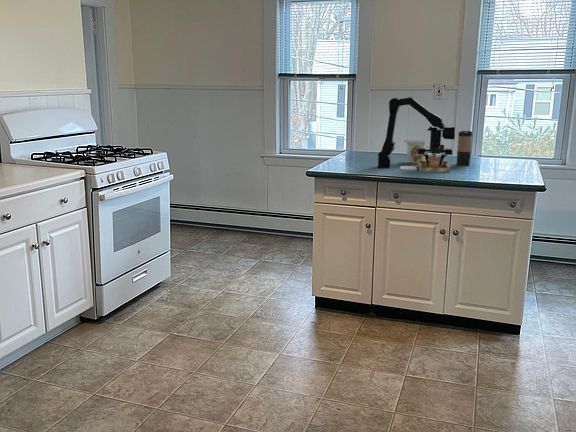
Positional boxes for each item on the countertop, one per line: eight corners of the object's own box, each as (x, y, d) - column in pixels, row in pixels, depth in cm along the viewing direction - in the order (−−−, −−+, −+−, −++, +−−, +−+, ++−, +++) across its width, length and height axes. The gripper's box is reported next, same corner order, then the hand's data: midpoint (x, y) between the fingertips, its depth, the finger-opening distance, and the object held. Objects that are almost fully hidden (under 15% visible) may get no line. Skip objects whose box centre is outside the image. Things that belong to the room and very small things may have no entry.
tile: (400, 170, 319) (400, 168, 319) (400, 167, 328) (400, 165, 328) (416, 170, 318) (416, 169, 318) (416, 168, 326) (416, 166, 326)
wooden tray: (419, 172, 314) (419, 165, 313) (418, 167, 330) (418, 160, 329) (449, 173, 311) (450, 165, 310) (447, 167, 327) (447, 161, 326)
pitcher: (433, 165, 335) (435, 142, 332) (402, 164, 338) (403, 141, 334) (432, 162, 346) (433, 139, 342) (402, 161, 348) (403, 139, 345)
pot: (427, 169, 318) (428, 154, 315) (427, 167, 324) (428, 152, 322) (440, 170, 316) (441, 154, 314) (439, 168, 323) (440, 152, 321)
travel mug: (470, 166, 330) (473, 132, 325) (456, 166, 332) (459, 132, 326) (468, 164, 337) (471, 131, 332) (455, 164, 339) (458, 130, 334)
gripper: (419, 140, 310) (417, 168, 314) (454, 141, 307) (452, 169, 311) (418, 137, 320) (416, 165, 324) (452, 138, 317) (450, 166, 321)
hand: (433, 166), depth 320 cm, fingers closed on pot, 6 cm apart
